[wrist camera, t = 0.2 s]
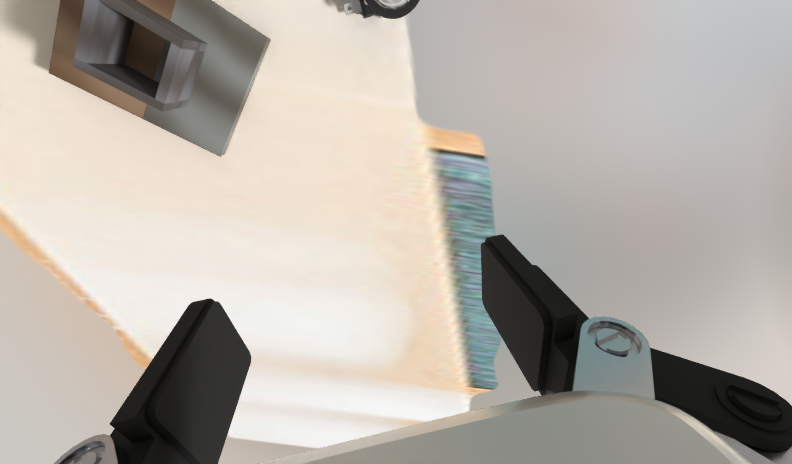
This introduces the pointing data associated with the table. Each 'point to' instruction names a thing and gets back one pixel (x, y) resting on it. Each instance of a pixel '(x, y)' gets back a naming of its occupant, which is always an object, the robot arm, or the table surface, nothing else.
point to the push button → (381, 8)
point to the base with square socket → (162, 62)
